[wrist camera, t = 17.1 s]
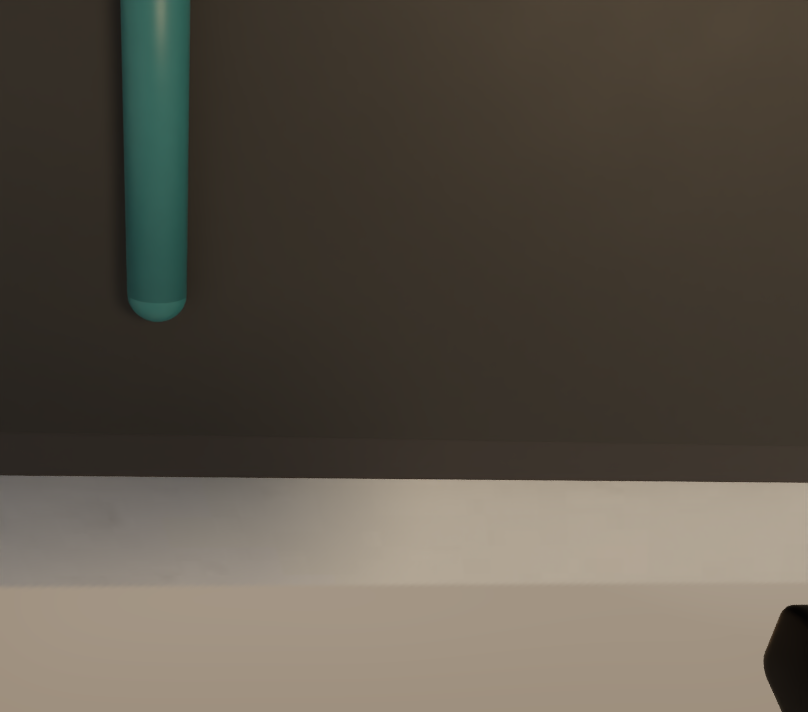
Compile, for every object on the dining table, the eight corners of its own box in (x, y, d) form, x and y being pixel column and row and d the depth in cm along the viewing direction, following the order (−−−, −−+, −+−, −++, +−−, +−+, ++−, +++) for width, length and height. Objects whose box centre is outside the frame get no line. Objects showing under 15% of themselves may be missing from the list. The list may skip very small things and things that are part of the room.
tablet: (1095, -239, 16) (1141, -257, 16) (821, 469, 24) (842, 485, 23) (-210, -499, 12) (-252, -544, 11) (-35, 458, 20) (-52, 477, 19)
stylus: (195, 326, 17) (207, -346, 12) (139, 333, 16) (127, -386, 11) (173, 308, 18) (177, -322, 13) (119, 313, 17) (101, -357, 12)
